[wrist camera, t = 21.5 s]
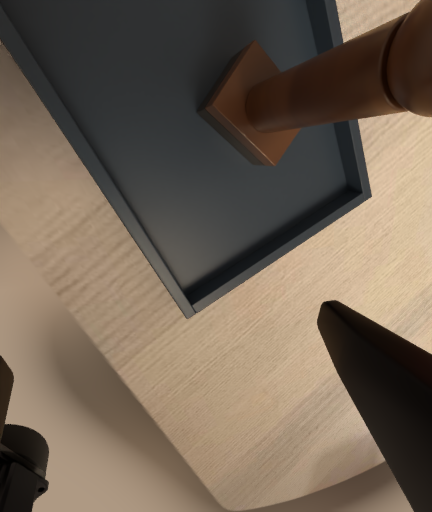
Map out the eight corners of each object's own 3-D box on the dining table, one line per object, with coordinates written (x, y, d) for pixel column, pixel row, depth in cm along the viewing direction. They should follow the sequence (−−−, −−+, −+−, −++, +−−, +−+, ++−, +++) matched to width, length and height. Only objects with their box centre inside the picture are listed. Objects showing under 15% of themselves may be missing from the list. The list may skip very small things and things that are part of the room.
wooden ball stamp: (285, 117, 19) (609, 44, 7) (253, 165, 20) (512, 176, 7) (232, 56, 17) (587, -217, 5) (195, 112, 17) (441, -6, 5)
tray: (179, 306, 22) (187, 319, 20) (-61, -57, 12) (-90, -96, 10) (351, 193, 24) (372, 196, 23) (271, -171, 15) (295, -217, 13)
